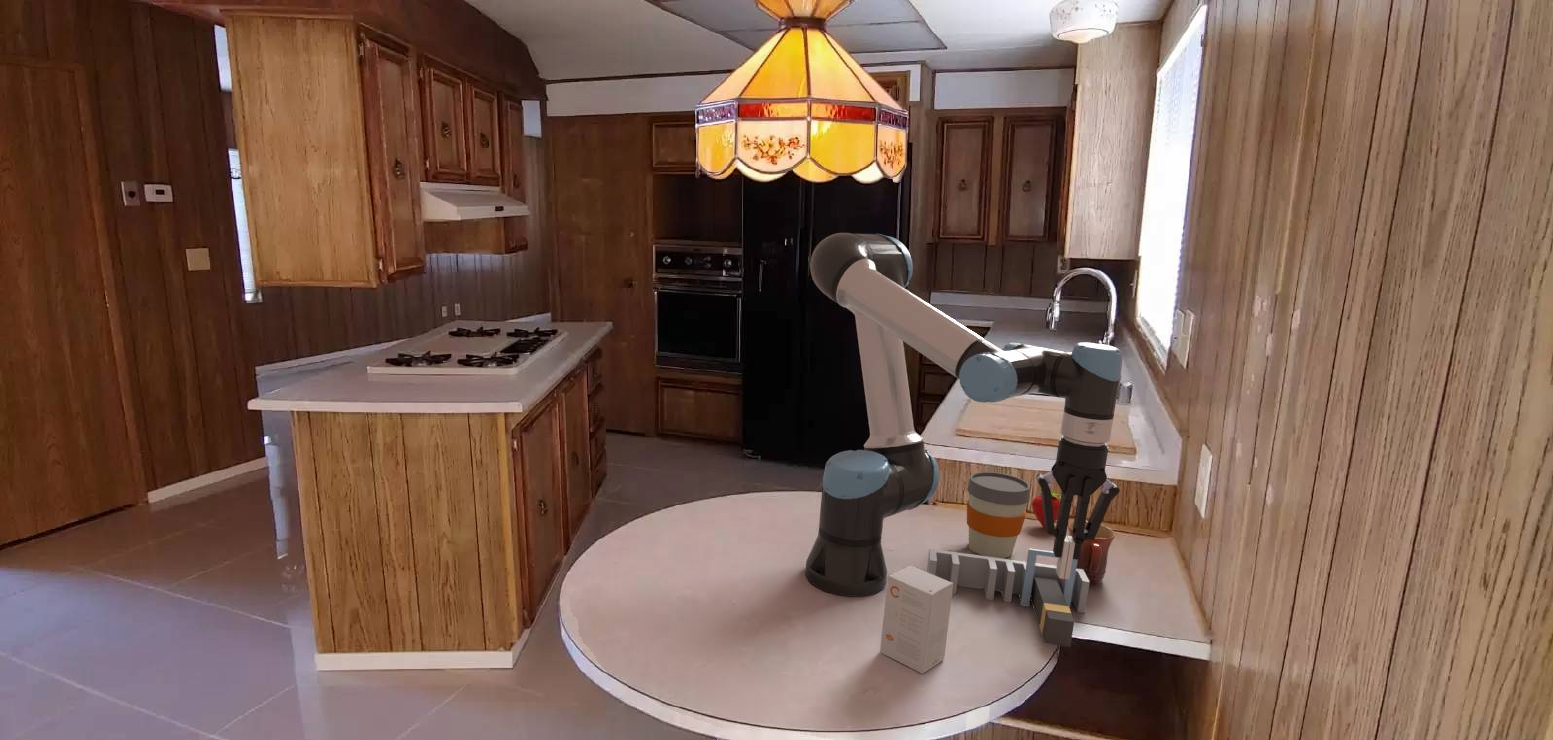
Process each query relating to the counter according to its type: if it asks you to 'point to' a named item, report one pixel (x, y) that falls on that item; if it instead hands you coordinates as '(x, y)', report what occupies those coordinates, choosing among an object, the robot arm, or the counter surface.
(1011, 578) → the grey slotted rack
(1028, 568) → the blue bezel
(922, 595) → the small box
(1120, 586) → the counter surface
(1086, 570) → the mug
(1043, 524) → the strawberry
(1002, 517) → the reusable coffee cup
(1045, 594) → the grey banded bar
